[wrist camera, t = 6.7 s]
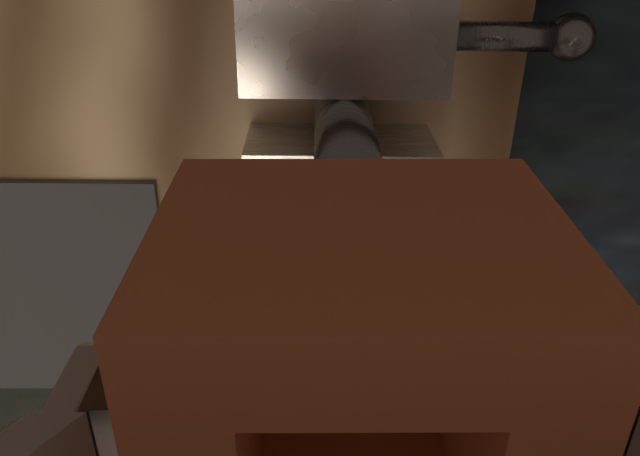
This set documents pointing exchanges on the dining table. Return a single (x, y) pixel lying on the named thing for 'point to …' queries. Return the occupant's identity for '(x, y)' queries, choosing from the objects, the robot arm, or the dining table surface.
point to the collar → (367, 316)
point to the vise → (369, 67)
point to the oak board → (194, 90)
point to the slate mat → (62, 266)
